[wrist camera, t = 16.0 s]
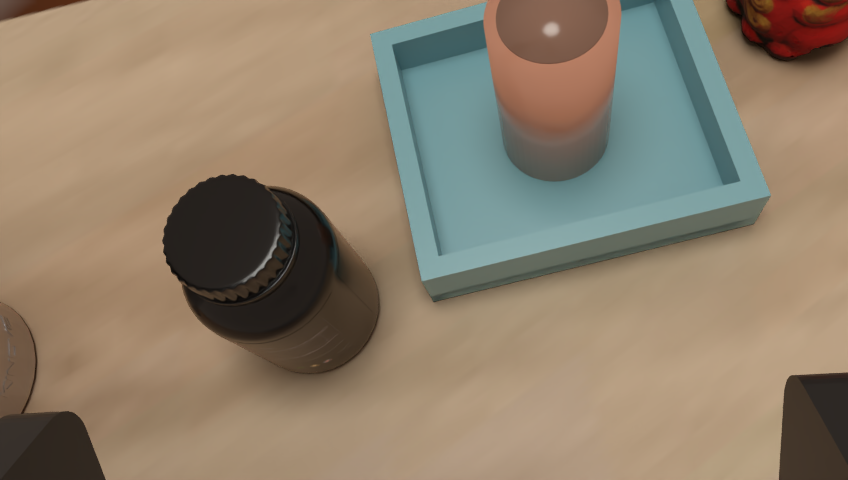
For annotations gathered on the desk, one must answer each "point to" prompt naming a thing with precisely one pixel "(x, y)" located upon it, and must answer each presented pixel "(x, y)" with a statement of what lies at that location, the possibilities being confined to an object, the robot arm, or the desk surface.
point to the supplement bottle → (270, 273)
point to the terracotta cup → (553, 81)
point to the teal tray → (576, 198)
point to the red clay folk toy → (792, 24)
